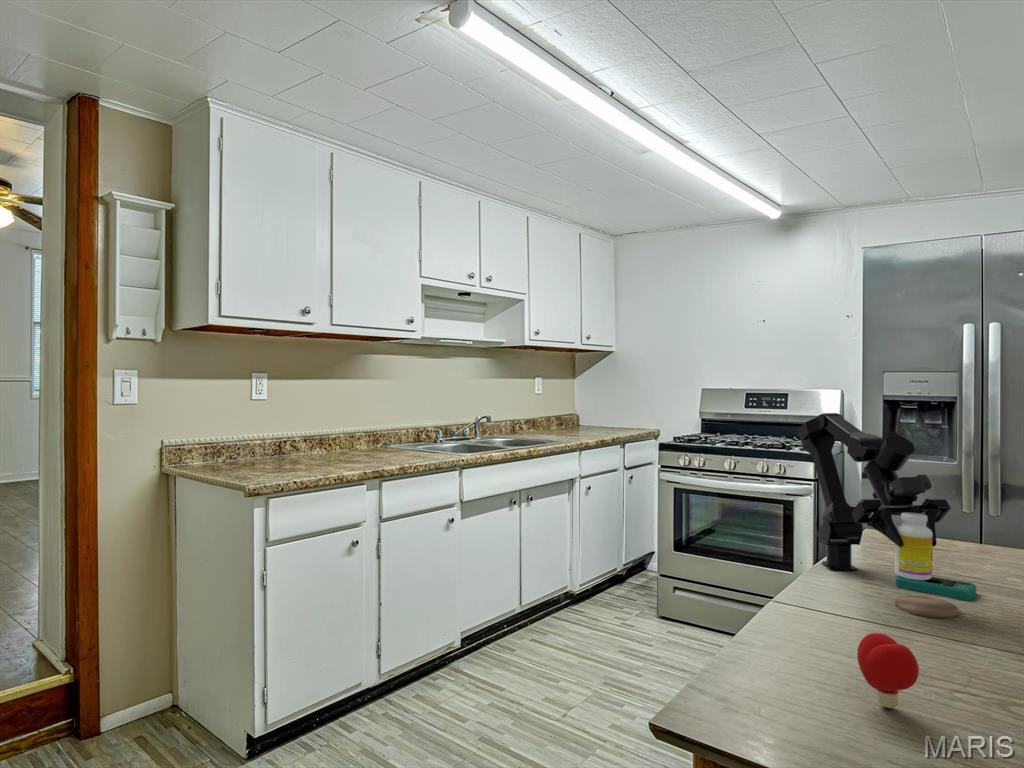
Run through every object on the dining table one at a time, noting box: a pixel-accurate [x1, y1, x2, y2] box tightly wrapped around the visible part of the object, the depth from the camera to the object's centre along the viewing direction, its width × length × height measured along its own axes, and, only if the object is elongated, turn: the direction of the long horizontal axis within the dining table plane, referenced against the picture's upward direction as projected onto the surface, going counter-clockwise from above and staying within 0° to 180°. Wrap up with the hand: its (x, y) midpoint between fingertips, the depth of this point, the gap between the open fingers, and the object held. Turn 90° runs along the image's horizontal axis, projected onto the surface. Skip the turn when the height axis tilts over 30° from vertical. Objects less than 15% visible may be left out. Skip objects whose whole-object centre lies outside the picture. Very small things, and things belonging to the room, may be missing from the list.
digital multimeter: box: [895, 574, 977, 602], centre depth 147 cm, size 7×15×3 cm, turn 45°
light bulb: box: [856, 632, 920, 711], centre depth 94 cm, size 9×7×10 cm
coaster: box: [894, 594, 959, 619], centre depth 135 cm, size 11×11×1 cm
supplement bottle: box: [894, 512, 933, 580], centre depth 135 cm, size 7×7×13 cm
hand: (918, 545), depth 134 cm, fingers closed on supplement bottle, 7 cm apart
